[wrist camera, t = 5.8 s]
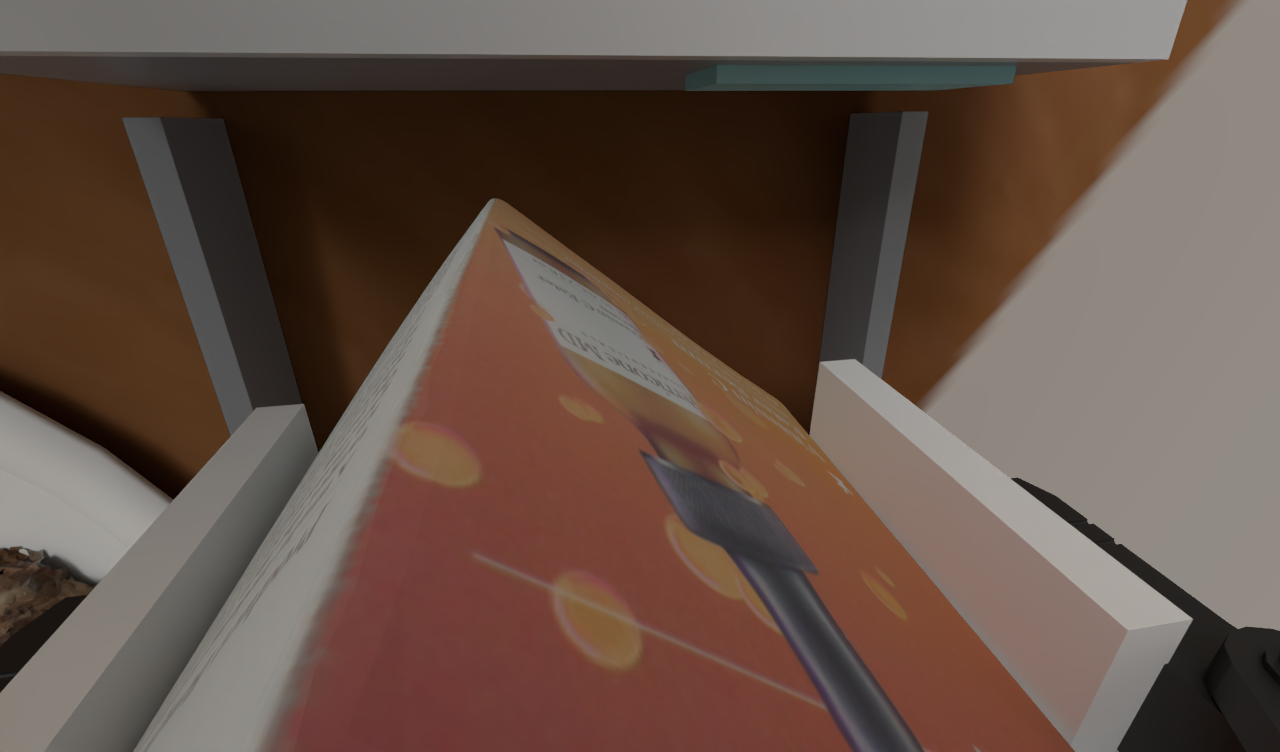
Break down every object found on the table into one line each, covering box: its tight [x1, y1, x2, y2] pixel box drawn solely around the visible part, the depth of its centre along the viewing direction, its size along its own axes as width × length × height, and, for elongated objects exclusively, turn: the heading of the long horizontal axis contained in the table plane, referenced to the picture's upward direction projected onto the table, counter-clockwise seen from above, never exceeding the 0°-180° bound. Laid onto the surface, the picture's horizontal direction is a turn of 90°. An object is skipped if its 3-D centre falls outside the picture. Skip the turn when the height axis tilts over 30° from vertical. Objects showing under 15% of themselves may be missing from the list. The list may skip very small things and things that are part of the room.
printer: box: [0, 0, 1187, 436], centre depth 14 cm, size 21×23×10 cm
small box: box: [133, 198, 1075, 752], centre depth 8 cm, size 8×6×10 cm
